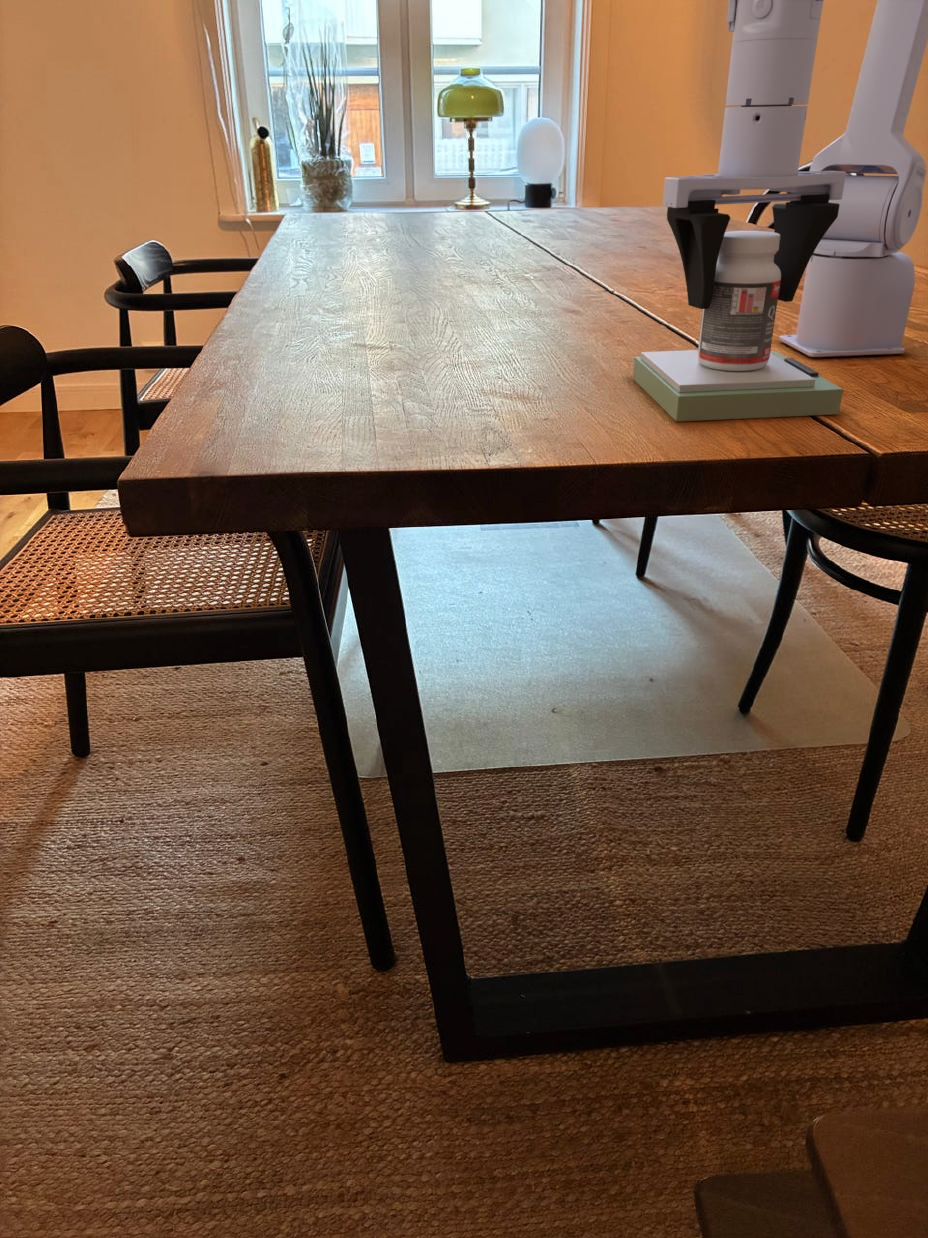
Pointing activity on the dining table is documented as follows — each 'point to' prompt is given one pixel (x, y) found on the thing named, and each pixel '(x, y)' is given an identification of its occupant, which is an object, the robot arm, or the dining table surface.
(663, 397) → the scale
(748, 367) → the pill bottle
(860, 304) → the robot arm
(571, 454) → the dining table surface
